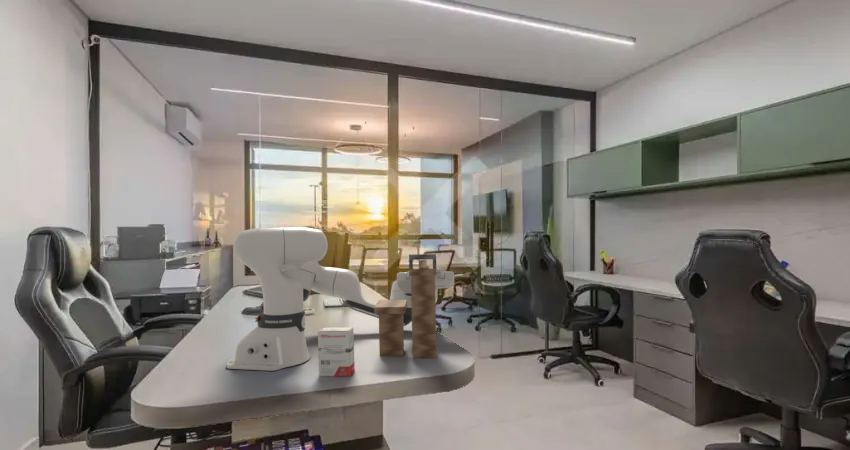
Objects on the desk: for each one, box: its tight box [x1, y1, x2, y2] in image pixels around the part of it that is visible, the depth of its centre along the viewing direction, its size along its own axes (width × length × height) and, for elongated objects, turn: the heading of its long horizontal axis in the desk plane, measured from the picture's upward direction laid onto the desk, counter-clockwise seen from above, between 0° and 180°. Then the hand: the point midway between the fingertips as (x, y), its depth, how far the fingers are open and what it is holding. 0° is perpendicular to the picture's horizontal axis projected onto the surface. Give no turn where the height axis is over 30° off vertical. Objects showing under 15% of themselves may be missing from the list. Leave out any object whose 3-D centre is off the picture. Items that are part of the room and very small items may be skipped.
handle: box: [418, 259, 428, 269], centre depth 130 cm, size 2×15×2 cm, turn 0°
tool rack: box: [374, 253, 437, 359], centre depth 127 cm, size 18×13×30 cm
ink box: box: [317, 326, 356, 377], centre depth 109 cm, size 9×5×12 cm, turn 84°
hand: (425, 270), depth 140 cm, fingers open, 8 cm apart
